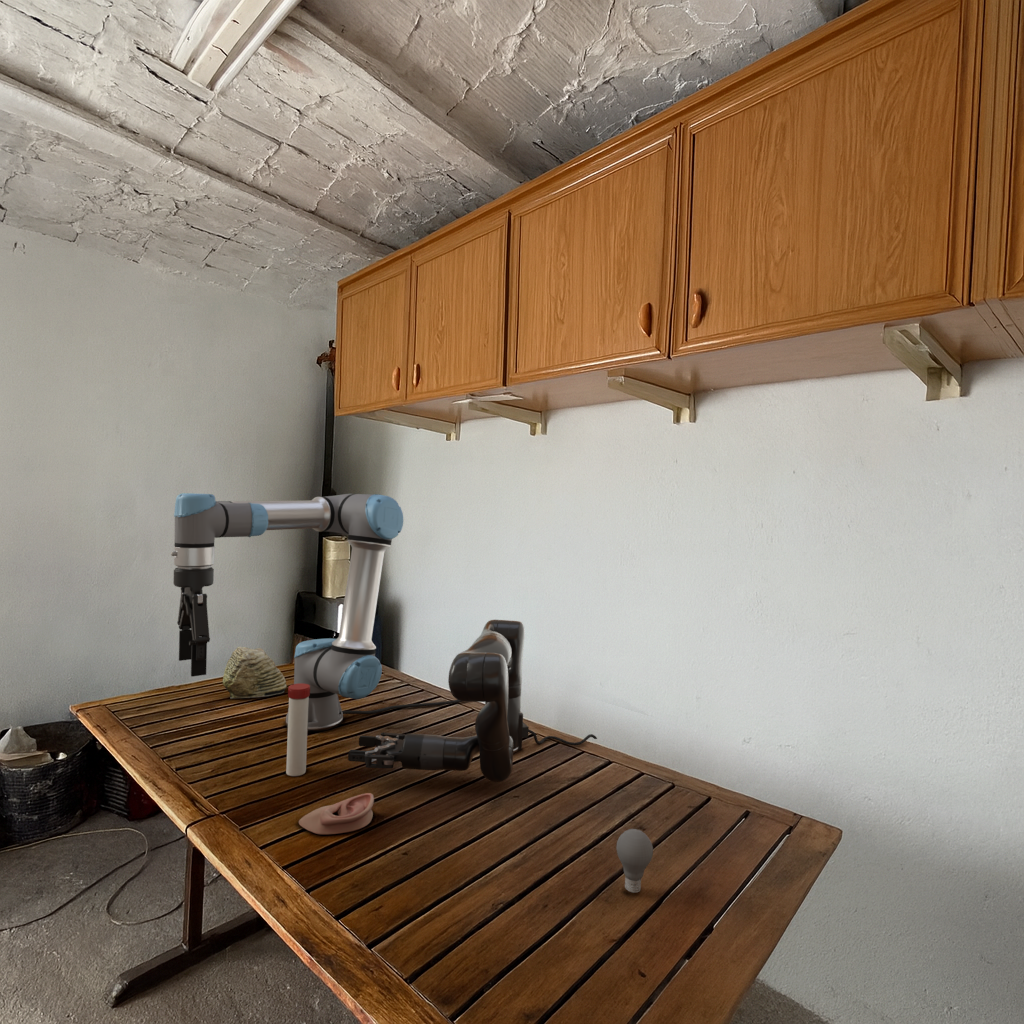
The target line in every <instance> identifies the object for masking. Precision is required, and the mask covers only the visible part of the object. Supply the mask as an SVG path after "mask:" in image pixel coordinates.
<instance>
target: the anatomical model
mask: <svg viewBox="0 0 1024 1024" xmlns="http://www.w3.org/2000/svg"><path fill="white" fill-rule="evenodd" d="M374 803H375V796H374V794H373V793H371V792H367V793H362V794H358V795H355V796H351V797H349V798H346V799H344V800H341V801H339V802H336V803H334V804H331V805H323V806H321V807H318V808H316V809H314V810H312V811H310V812H308V813H306V814H305V815H303V816H302V817H301V818H300V819H299V820H298V825H299V826H300V827H301V828H303V829H304V830H306V831H308V832H310V833H313V834H317V835H336V834H343V833H350V832H354V831H358V830H360V829H362V828H365V827H366V826H368V825H369V824H370V823H371V822H372V819H373V817H374V816H373V815H374V812H373V809H372V808H373V805H374Z"/></svg>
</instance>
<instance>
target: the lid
mask: <svg viewBox="0 0 1024 1024" xmlns="http://www.w3.org/2000/svg"><path fill="white" fill-rule="evenodd" d="M309 695H310V685H308V684H294V683H293V684H290V685H289V686H288V688H287V697H288V699H289V698H292V699H303V698H307V697H309Z"/></svg>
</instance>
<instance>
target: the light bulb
mask: <svg viewBox="0 0 1024 1024" xmlns="http://www.w3.org/2000/svg"><path fill="white" fill-rule="evenodd" d="M615 849H616V854H617V857H618V859H619V861H620V863H621V865H622V867H623V873H624V874H623V875H624V876H625V878H624V888H625V890H627V891H628V892H630V893H634V894H635V893H639V892H640V891H641V889H642V887H641V886H642V879H643V877H644V875H645V871H646V868H647V867H648V866H649V864H650V863H651V861H652V859H653V855H654V847H653V843H652V841H651V838H649V836H648V835H647V834H646V833H645V832H643V831H642V830H641V829H636V828H629V829H627V830H625V831H623V832H622V833H621V834H620V835H619V837H618V839H617V841H616V847H615Z"/></svg>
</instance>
